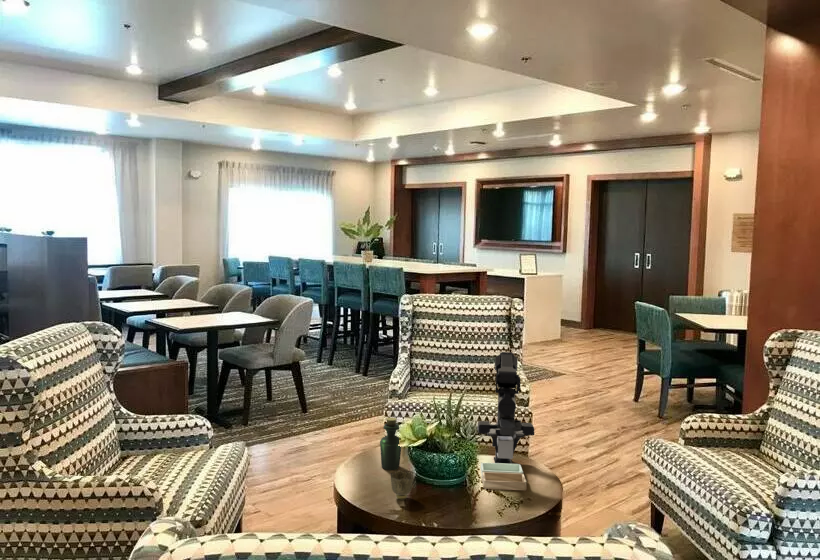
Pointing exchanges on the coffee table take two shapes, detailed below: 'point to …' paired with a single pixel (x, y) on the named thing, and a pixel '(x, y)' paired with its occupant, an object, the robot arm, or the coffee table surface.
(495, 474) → the bin
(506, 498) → the coffee table surface
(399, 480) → the cup
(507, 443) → the stone block
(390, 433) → the potion bottle
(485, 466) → the bin
